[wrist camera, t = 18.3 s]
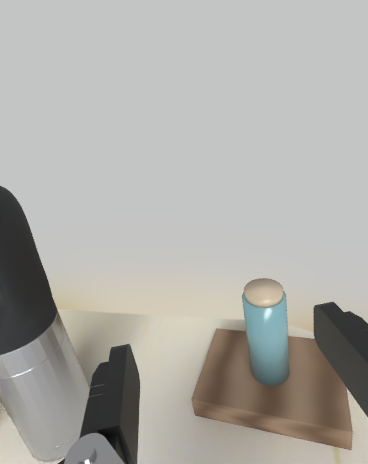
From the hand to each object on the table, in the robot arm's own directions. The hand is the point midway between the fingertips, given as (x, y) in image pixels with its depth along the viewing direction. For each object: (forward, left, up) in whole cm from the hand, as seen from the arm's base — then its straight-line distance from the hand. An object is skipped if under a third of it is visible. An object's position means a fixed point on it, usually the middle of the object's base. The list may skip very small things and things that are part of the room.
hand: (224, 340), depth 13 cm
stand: (-12, +17, -28) cm, 35 cm away
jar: (-12, +17, -25) cm, 32 cm away
